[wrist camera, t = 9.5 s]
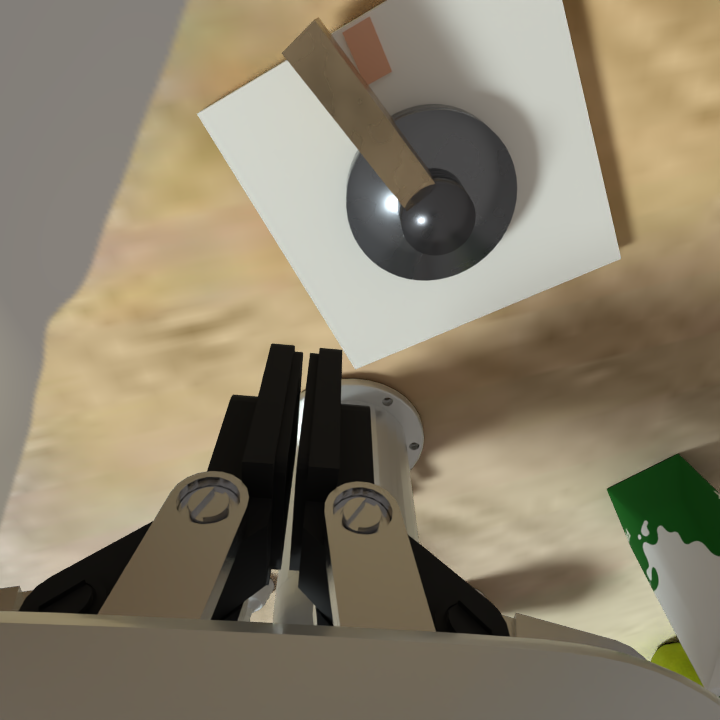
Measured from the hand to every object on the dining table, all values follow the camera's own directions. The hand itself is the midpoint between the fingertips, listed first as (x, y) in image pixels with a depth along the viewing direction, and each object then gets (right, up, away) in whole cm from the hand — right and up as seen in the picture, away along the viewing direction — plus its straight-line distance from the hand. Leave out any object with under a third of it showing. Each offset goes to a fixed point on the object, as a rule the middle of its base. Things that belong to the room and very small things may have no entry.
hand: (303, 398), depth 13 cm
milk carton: (+30, -11, +38) cm, 50 cm away
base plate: (+5, +12, +21) cm, 25 cm away
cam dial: (+4, +13, +18) cm, 23 cm away
